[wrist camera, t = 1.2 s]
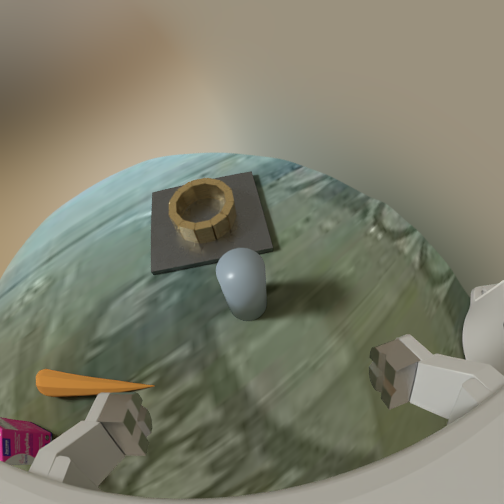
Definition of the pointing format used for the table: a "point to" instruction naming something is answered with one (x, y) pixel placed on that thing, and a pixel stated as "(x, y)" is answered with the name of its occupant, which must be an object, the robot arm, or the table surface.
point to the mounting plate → (193, 254)
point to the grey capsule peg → (243, 282)
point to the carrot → (79, 384)
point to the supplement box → (21, 441)
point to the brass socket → (209, 228)
